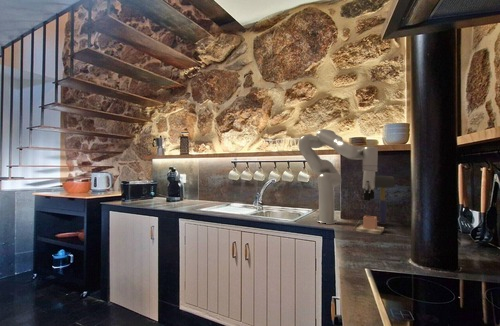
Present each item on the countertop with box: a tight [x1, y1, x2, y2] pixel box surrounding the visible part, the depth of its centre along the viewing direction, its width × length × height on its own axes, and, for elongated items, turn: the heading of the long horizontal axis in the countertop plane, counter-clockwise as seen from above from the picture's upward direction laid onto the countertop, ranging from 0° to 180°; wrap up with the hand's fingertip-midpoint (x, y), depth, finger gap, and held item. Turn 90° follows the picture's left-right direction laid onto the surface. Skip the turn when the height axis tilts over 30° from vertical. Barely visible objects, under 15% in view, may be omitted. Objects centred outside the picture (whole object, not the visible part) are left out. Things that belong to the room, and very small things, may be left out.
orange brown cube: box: [362, 215, 378, 230], centre depth 144 cm, size 6×6×6 cm
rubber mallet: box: [375, 175, 396, 225], centre depth 161 cm, size 12×8×30 cm, turn 70°
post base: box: [355, 224, 385, 235], centre depth 144 cm, size 12×12×6 cm
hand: (369, 199), depth 145 cm, fingers open, 9 cm apart
